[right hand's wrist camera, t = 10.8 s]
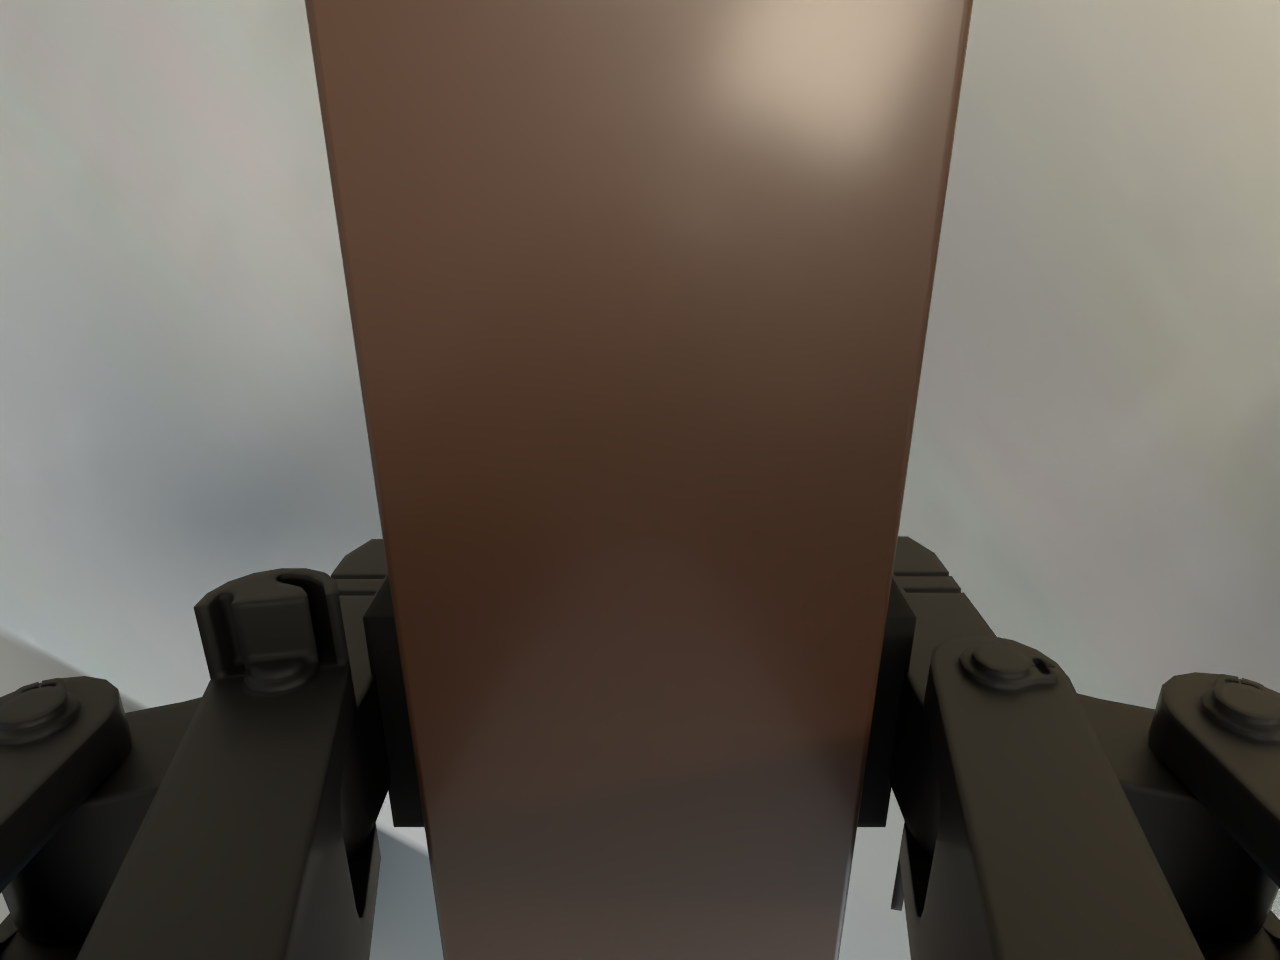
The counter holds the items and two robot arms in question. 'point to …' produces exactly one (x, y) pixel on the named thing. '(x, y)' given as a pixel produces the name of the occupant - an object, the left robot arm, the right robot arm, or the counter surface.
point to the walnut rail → (639, 438)
